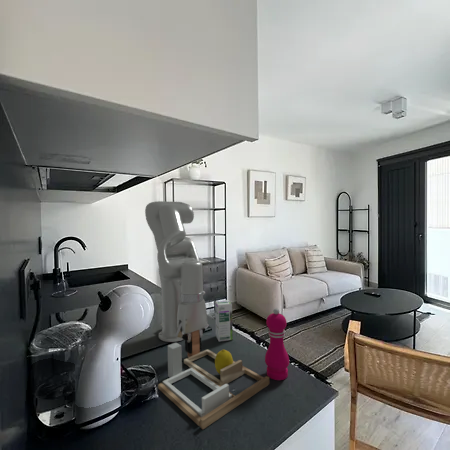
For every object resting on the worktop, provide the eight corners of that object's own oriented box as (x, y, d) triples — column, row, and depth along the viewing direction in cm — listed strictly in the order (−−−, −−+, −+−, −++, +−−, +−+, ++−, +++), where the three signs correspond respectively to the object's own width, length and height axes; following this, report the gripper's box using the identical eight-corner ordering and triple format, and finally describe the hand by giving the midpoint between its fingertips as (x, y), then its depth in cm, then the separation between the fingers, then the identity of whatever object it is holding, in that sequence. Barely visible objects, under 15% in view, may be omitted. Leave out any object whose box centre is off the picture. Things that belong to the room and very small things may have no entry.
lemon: (217, 383, 77) (217, 355, 77) (213, 372, 82) (212, 347, 82) (236, 379, 78) (235, 352, 78) (230, 369, 84) (229, 344, 83)
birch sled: (178, 359, 90) (178, 332, 89) (202, 349, 96) (202, 324, 96) (220, 387, 74) (219, 354, 74) (244, 373, 81) (244, 343, 81)
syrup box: (218, 342, 103) (217, 304, 103) (215, 335, 108) (214, 300, 108) (232, 340, 104) (232, 303, 104) (229, 334, 110) (228, 299, 110)
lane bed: (158, 388, 75) (158, 381, 75) (221, 358, 91) (221, 352, 91) (202, 429, 60) (202, 420, 60) (269, 384, 76) (269, 377, 76)
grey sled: (157, 380, 78) (156, 349, 78) (186, 367, 85) (185, 338, 84) (201, 419, 62) (200, 380, 62) (232, 399, 69) (231, 364, 69)
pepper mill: (265, 367, 85) (264, 304, 84) (288, 368, 83) (287, 305, 83) (265, 380, 77) (263, 312, 77) (290, 382, 76) (289, 313, 76)
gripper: (204, 290, 100) (205, 339, 100) (165, 300, 89) (166, 354, 89) (217, 294, 94) (218, 346, 95) (177, 304, 83) (179, 363, 83)
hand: (193, 349), depth 92 cm, fingers closed on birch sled, 3 cm apart
